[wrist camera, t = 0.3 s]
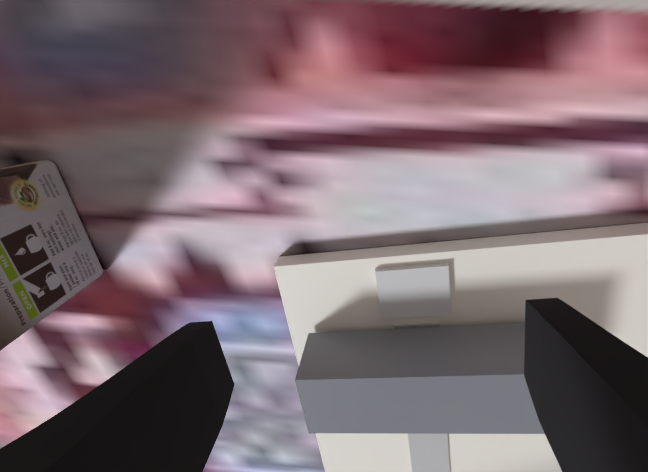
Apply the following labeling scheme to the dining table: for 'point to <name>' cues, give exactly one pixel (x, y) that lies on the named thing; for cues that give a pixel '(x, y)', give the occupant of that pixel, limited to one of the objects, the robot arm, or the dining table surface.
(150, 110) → the dining table surface
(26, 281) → the coffee box
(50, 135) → the dining table surface
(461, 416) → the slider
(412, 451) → the switch board
